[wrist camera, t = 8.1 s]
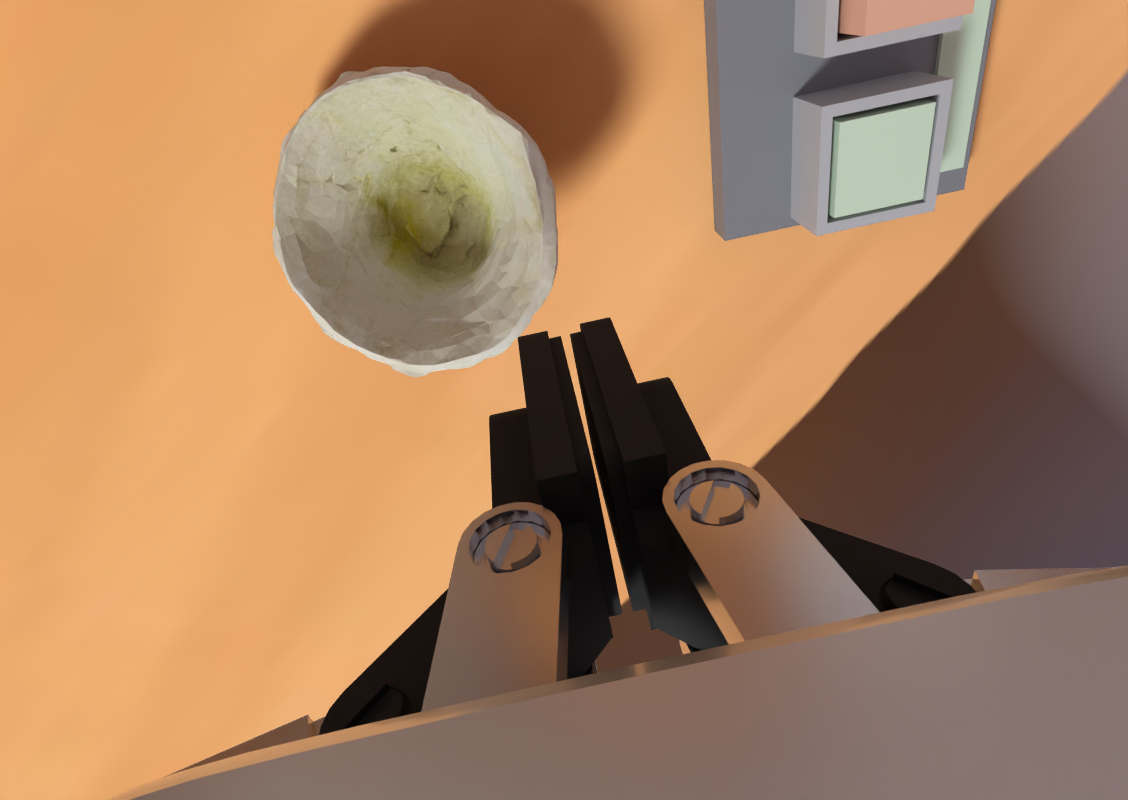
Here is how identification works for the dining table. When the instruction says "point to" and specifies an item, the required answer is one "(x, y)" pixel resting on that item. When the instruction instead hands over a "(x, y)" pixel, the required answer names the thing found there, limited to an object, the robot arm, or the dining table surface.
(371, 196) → the bowl
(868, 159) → the green button
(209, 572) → the dining table surface
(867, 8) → the terracotta button
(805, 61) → the button board
